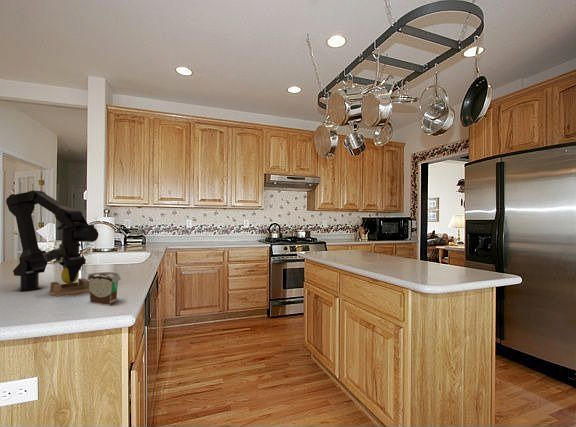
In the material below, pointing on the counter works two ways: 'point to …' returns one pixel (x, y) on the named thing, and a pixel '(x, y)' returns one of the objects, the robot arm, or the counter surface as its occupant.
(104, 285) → the food container
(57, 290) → the cradle
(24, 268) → the robot arm
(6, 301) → the counter surface
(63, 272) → the lemon
